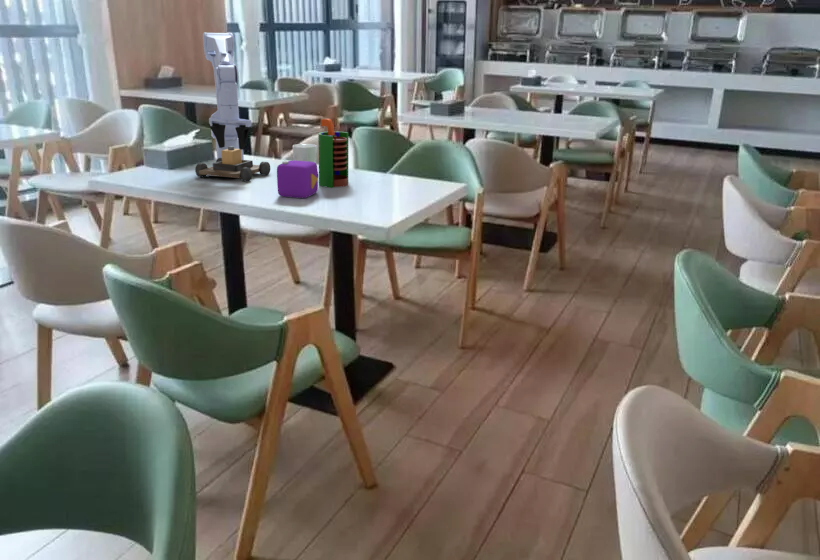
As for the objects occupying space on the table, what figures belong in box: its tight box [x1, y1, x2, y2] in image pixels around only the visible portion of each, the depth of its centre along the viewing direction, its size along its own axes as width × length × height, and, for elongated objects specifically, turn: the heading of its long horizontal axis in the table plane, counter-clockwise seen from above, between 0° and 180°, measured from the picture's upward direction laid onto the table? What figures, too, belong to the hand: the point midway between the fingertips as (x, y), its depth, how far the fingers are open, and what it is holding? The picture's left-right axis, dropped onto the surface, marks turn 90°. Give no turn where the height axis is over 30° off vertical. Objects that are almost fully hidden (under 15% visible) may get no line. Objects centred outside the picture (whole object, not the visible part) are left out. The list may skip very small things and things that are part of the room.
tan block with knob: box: [221, 146, 242, 165], centre depth 219 cm, size 5×4×7 cm
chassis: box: [194, 158, 271, 183], centre depth 221 cm, size 16×18×5 cm
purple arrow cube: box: [276, 159, 319, 199], centre depth 198 cm, size 11×14×10 cm
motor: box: [317, 118, 349, 189], centre depth 209 cm, size 10×9×20 cm
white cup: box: [292, 143, 318, 165], centre depth 222 cm, size 8×8×10 cm
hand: (231, 148), depth 219 cm, fingers open, 7 cm apart
